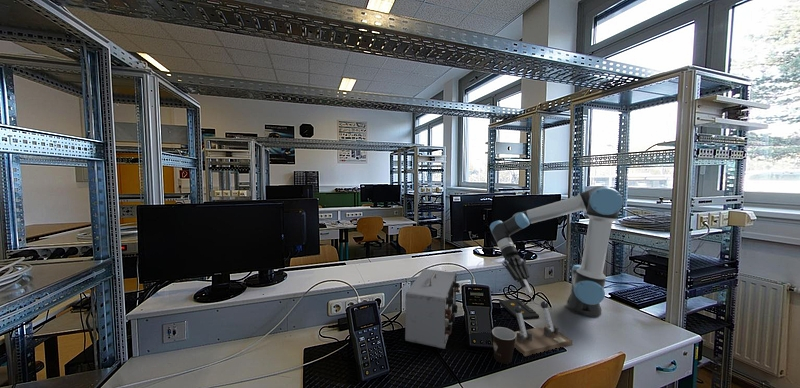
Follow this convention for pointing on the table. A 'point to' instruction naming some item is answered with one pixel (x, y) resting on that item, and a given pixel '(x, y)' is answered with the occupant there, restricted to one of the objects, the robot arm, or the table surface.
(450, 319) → the vintage electronic device
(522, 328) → the lever
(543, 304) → the lever
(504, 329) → the coffee mug
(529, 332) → the switch base
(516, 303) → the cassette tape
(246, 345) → the table surface
